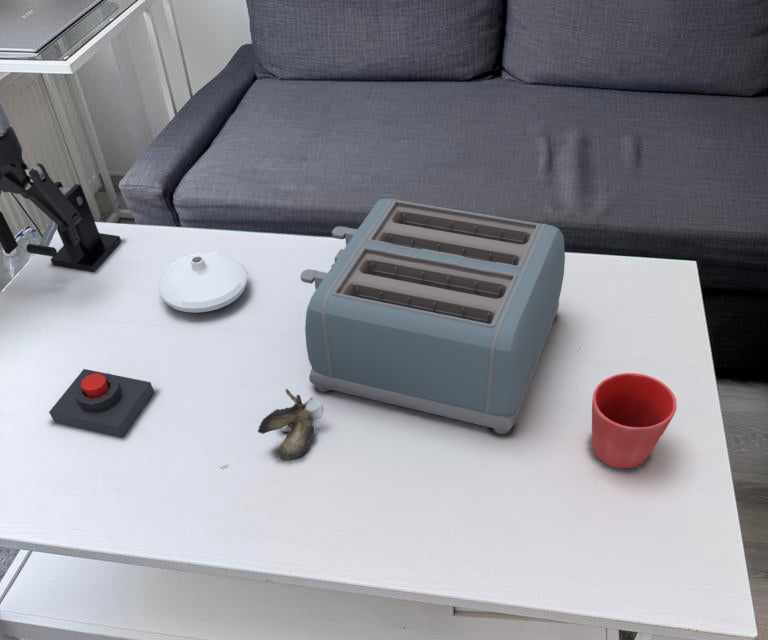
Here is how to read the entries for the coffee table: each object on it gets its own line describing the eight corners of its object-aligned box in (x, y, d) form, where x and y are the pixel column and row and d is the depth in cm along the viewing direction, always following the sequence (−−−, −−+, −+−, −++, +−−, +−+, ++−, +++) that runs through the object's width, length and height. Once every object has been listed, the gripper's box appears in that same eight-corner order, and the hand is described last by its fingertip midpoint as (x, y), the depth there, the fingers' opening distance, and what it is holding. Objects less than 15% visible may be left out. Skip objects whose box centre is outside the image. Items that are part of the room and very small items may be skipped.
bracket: (94, 271, 138) (68, 207, 128) (52, 264, 140) (23, 201, 130) (121, 241, 144) (98, 177, 133) (81, 235, 146) (55, 171, 135)
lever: (56, 260, 131) (48, 251, 128) (31, 256, 132) (23, 247, 129) (84, 198, 134) (77, 189, 132) (60, 195, 135) (52, 185, 133)
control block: (54, 422, 114) (43, 403, 111) (88, 379, 120) (79, 359, 117) (123, 437, 112) (114, 418, 109) (154, 392, 117) (147, 373, 114)
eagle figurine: (274, 404, 113) (247, 437, 107) (295, 375, 108) (268, 408, 102) (314, 435, 114) (290, 470, 108) (337, 408, 109) (313, 443, 103)
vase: (151, 284, 135) (139, 250, 129) (233, 258, 139) (225, 223, 133) (177, 333, 126) (165, 299, 120) (264, 304, 130) (256, 269, 124)
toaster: (361, 274, 134) (354, 181, 120) (559, 312, 125) (576, 217, 111) (288, 386, 117) (270, 294, 103) (511, 440, 108) (524, 347, 94)
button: (80, 396, 112) (76, 387, 111) (93, 380, 114) (89, 371, 113) (101, 400, 112) (97, 391, 110) (113, 384, 114) (109, 375, 112)
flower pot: (567, 433, 108) (578, 383, 101) (635, 414, 110) (651, 364, 102) (602, 486, 102) (616, 437, 95) (673, 465, 104) (693, 416, 96)
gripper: (70, 128, 113) (117, 251, 130) (-64, 113, 119) (-3, 233, 136) (42, 152, 109) (95, 276, 126) (-96, 136, 115) (-28, 257, 131)
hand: (44, 254), depth 131 cm, fingers open, 13 cm apart
